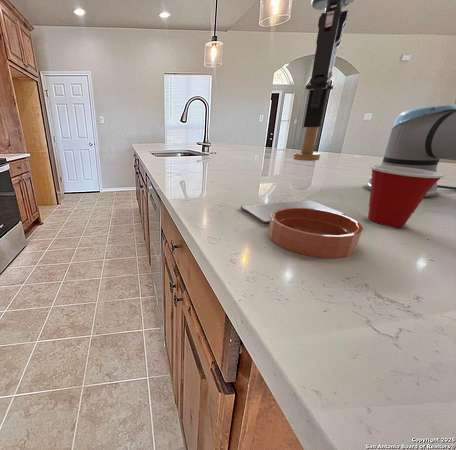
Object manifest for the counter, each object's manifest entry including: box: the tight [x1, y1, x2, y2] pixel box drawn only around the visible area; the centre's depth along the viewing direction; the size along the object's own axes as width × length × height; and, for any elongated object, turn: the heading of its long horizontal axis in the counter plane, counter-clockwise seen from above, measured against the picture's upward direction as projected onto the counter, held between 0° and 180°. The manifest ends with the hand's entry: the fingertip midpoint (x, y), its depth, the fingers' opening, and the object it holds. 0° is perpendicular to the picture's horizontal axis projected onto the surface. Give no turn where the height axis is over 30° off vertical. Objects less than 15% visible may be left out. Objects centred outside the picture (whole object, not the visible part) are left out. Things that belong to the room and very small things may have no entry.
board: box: [240, 199, 346, 225], centre depth 60 cm, size 20×11×1 cm, turn 99°
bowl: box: [267, 208, 364, 259], centre depth 46 cm, size 14×14×4 cm
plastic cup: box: [367, 164, 445, 229], centre depth 51 cm, size 11×11×12 cm
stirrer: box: [292, 68, 334, 162], centre depth 48 cm, size 5×5×17 cm
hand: (312, 126), depth 49 cm, fingers closed on stirrer, 2 cm apart
